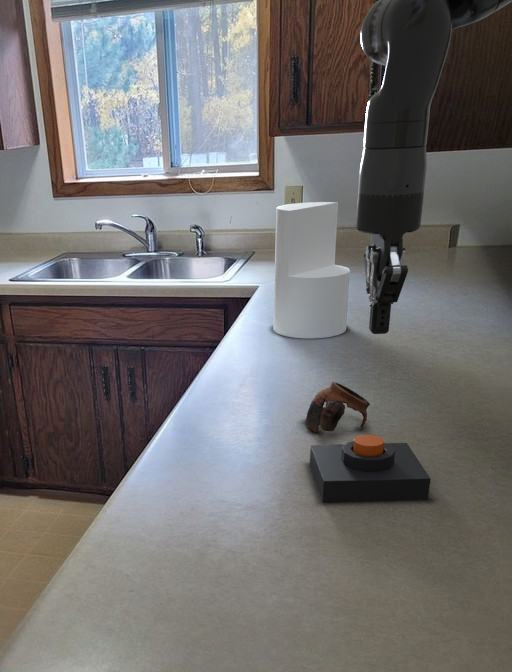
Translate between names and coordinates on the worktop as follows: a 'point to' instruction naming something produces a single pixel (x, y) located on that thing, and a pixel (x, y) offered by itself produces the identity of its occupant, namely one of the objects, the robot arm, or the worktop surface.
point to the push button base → (368, 474)
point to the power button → (368, 445)
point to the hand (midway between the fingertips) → (378, 332)
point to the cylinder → (309, 272)
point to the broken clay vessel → (334, 407)
